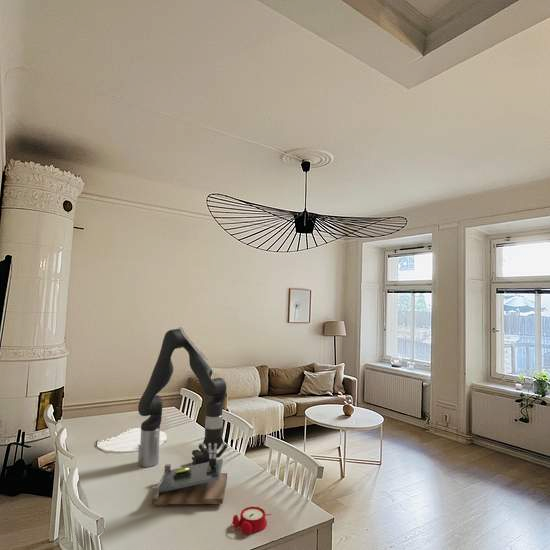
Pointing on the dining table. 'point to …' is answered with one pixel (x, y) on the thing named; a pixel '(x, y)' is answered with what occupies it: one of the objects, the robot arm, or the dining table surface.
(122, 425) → the dining table surface
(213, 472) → the plate
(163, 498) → the wooden fixture base
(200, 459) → the black camera
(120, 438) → the white flat irregular sheet
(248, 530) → the alarm clock
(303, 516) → the dining table surface
